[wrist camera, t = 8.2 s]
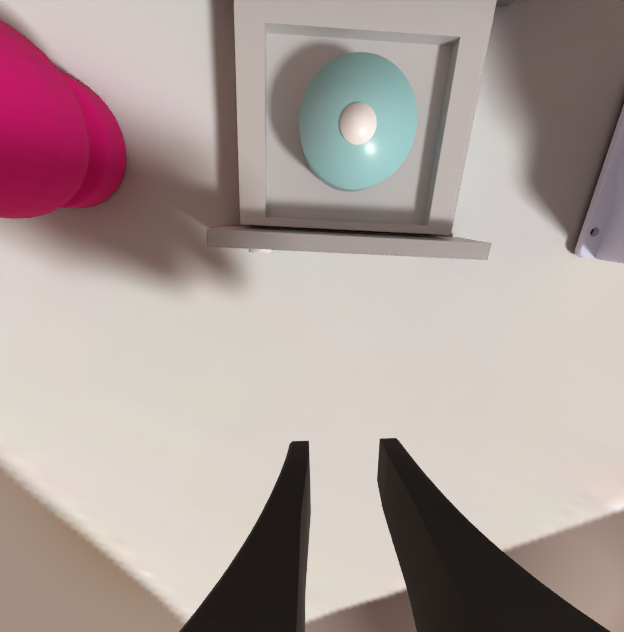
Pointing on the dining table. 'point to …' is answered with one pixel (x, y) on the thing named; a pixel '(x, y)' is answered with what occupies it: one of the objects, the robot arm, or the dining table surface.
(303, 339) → the dining table surface
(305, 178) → the tray
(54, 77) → the pepper mill
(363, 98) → the disc
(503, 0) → the box
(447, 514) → the robot arm
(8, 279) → the dining table surface
